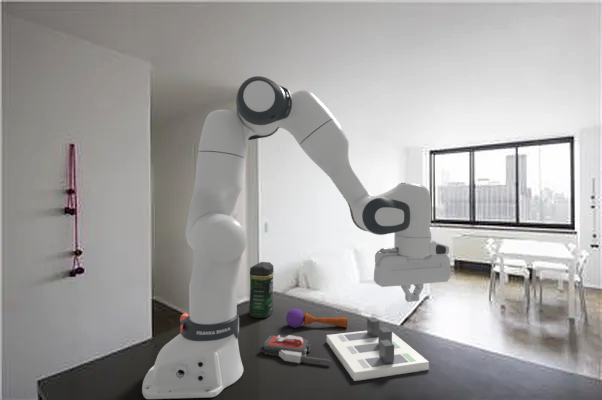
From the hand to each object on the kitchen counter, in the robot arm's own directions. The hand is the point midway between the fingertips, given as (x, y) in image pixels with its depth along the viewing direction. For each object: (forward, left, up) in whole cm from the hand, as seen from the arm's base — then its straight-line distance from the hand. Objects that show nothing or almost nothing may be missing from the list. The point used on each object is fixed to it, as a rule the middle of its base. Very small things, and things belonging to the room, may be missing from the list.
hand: (412, 300), depth 80 cm
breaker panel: (-7, +7, -17) cm, 19 cm away
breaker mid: (-4, +7, -14) cm, 16 cm away
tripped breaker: (-7, 0, -14) cm, 16 cm away
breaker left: (-4, +14, -14) cm, 20 cm away
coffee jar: (-33, +43, -17) cm, 57 cm away
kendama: (-17, +28, -17) cm, 37 cm away
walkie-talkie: (-27, +12, -17) cm, 34 cm away
